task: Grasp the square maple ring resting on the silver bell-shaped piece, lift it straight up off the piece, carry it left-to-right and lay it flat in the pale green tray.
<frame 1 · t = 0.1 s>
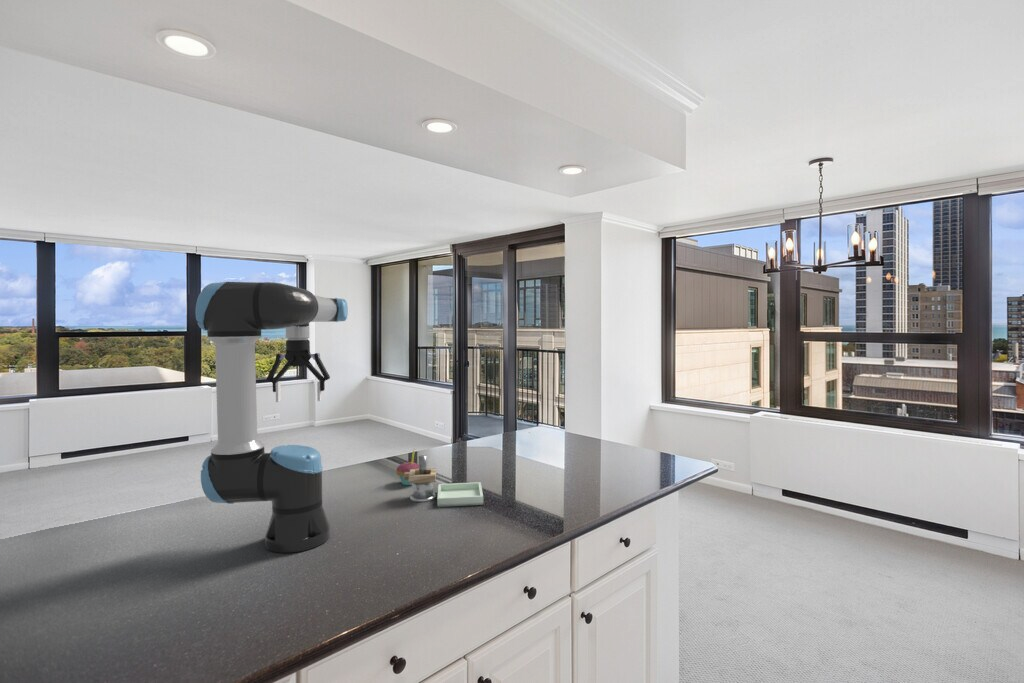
hand: (299, 401, 174), 28 cm above the worktop, fingers open, 13 cm apart
cupcake: (409, 483, 172), on the worktop
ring: (422, 478, 157), point 6 cm above the worktop, touching silver bell-shaped piece
tray: (460, 497, 157), on the worktop
silver bell-shaped piece: (423, 497, 158), on the worktop
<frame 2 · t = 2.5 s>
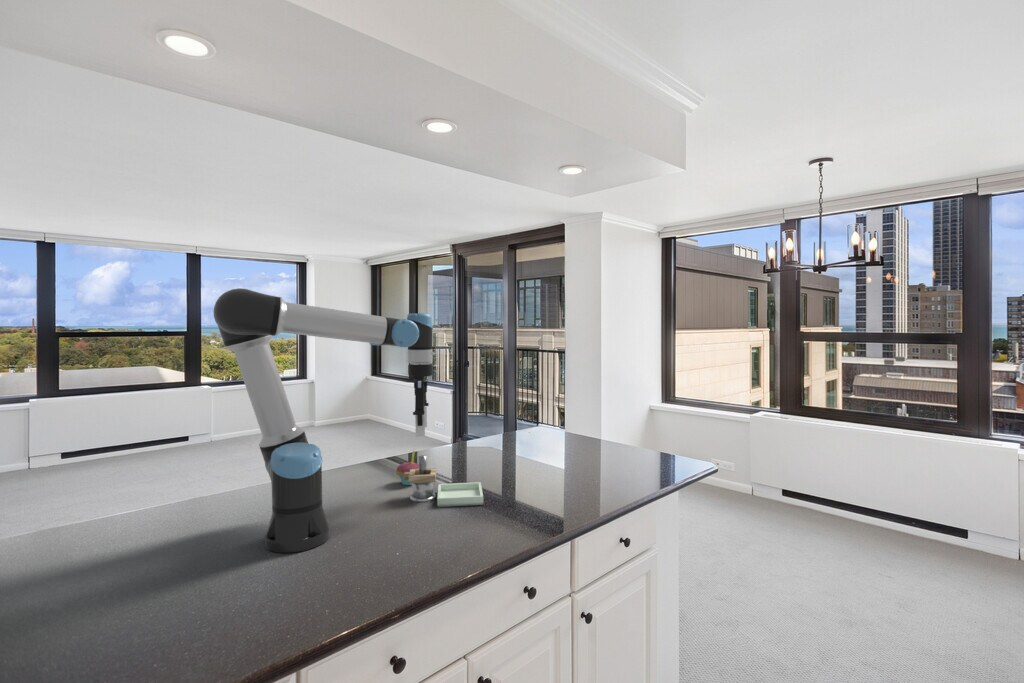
hand: (421, 431, 157), 21 cm above the worktop, fingers open, 13 cm apart
nothing on the worktop moved.
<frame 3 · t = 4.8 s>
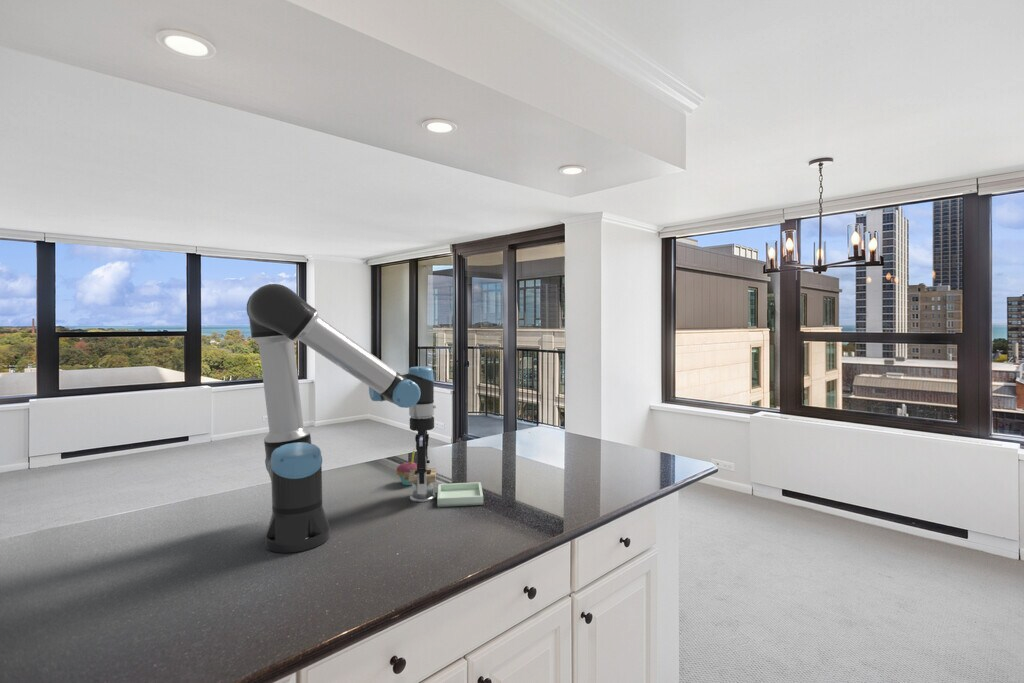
hand: (422, 488, 158), 3 cm above the worktop, fingers closed on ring, 8 cm apart
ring: (422, 478, 157), point 6 cm above the worktop, touching gripper, silver bell-shaped piece
everything else where it was.
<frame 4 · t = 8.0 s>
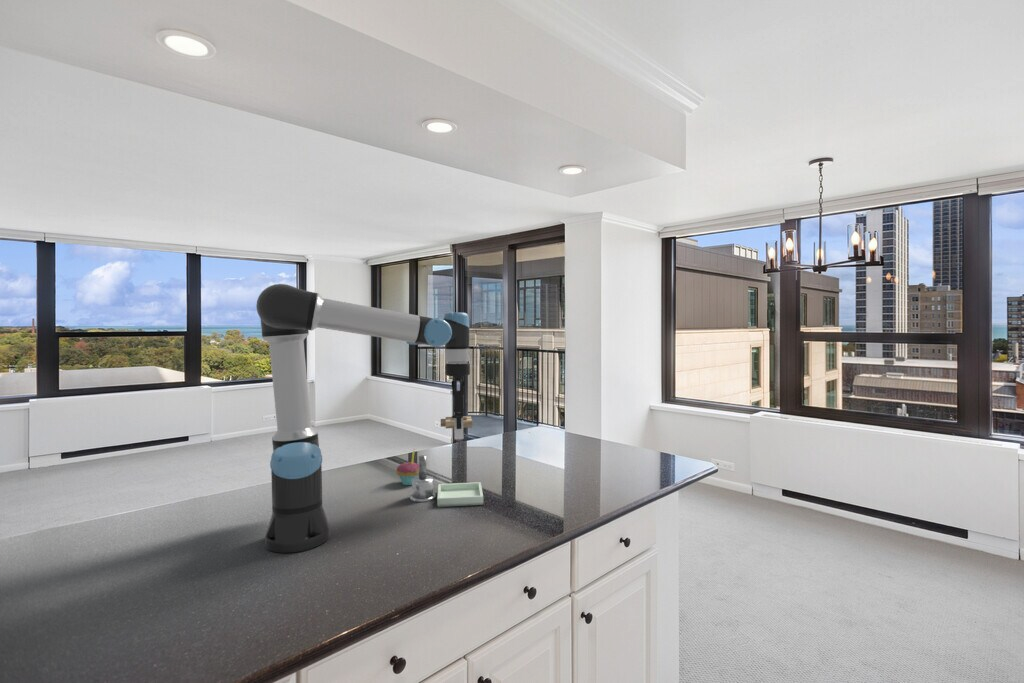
hand: (458, 435, 156), 19 cm above the worktop, fingers closed on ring, 8 cm apart
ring: (458, 425, 156), point 23 cm above the worktop, touching gripper
everything else where it was.
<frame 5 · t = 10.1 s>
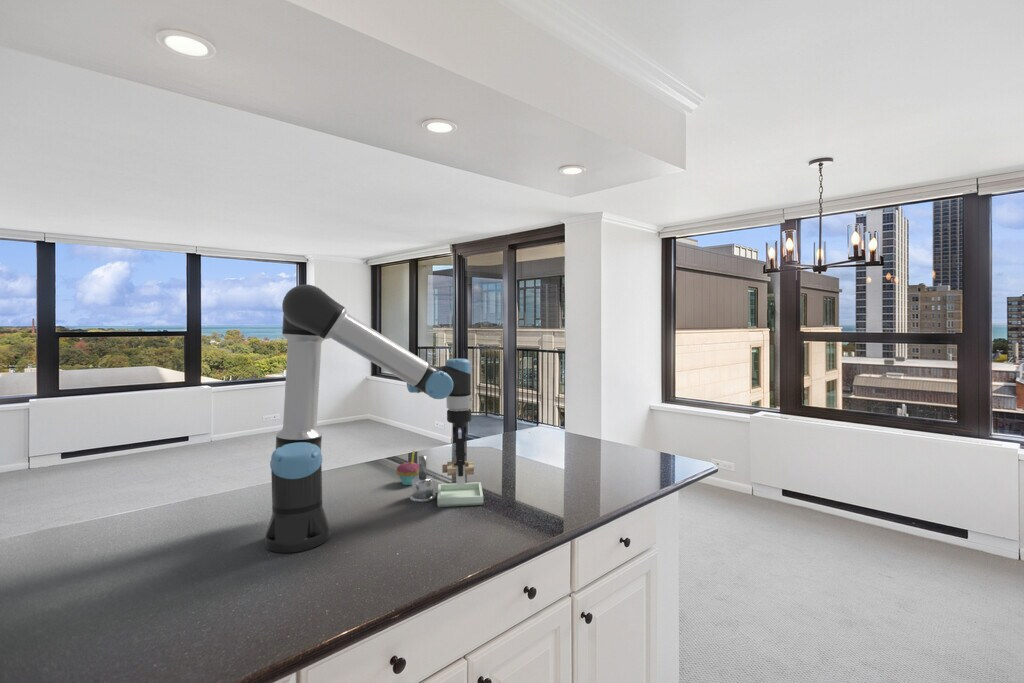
hand: (460, 481, 157), 5 cm above the worktop, fingers closed on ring, 8 cm apart
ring: (460, 471, 157), point 8 cm above the worktop, touching gripper
everything else where it was.
when the fingers open (3 cm above the worktop, at t = 11.8 s): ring stays where it is, resting on tray.
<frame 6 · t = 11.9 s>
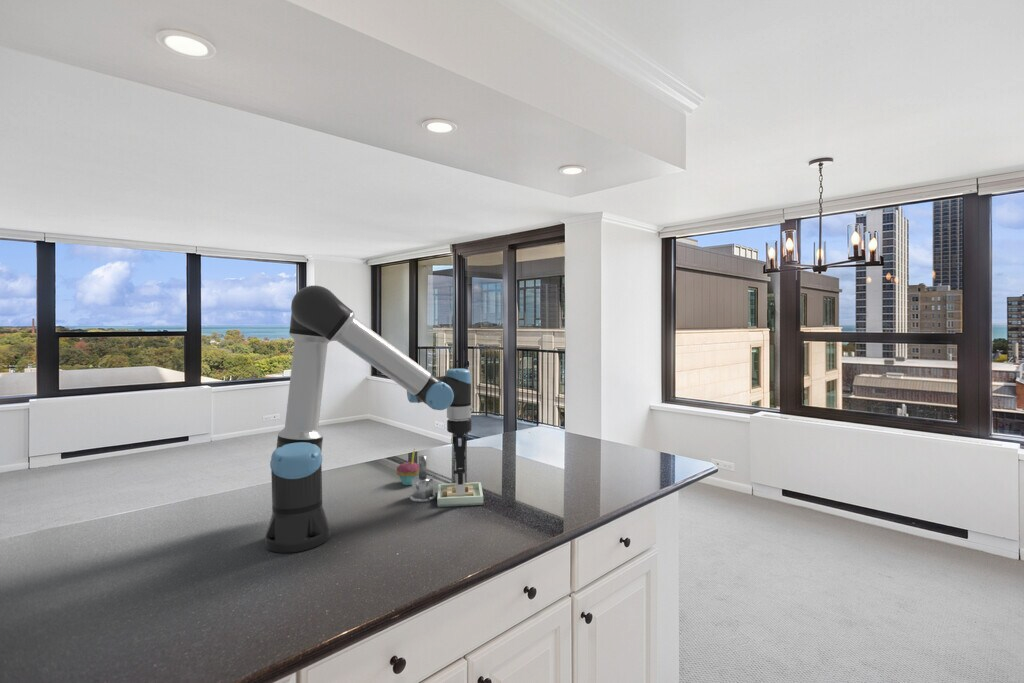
hand: (460, 487, 157), 3 cm above the worktop, fingers open, 12 cm apart
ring: (460, 496, 157), point 1 cm above the worktop, touching tray
everything else where it was.
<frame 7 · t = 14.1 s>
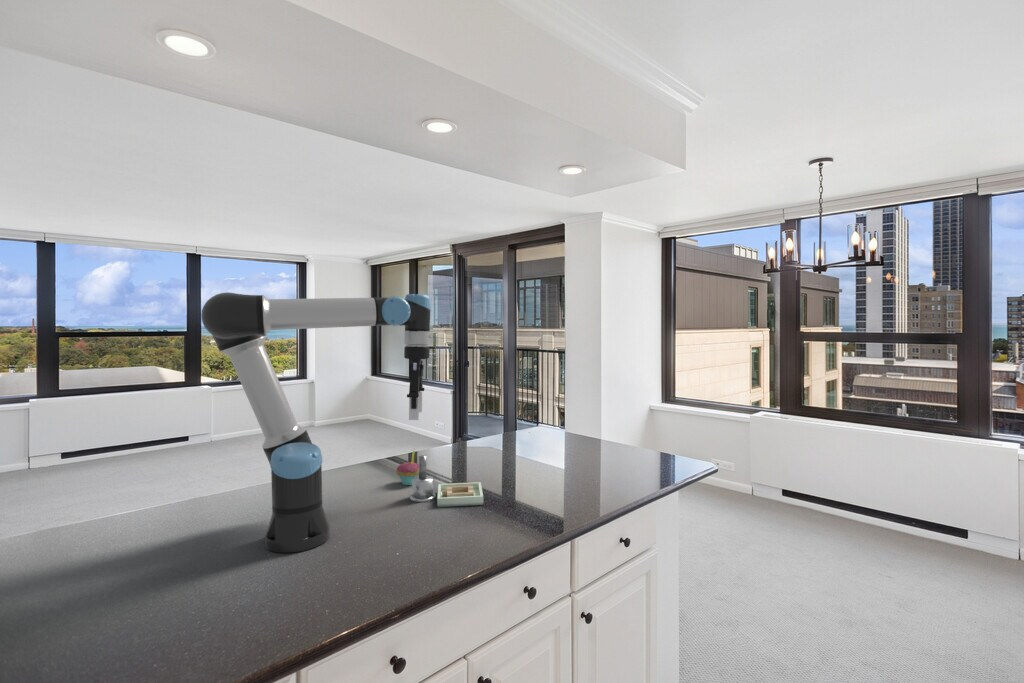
hand: (415, 415, 153), 26 cm above the worktop, fingers open, 13 cm apart
nothing on the worktop moved.
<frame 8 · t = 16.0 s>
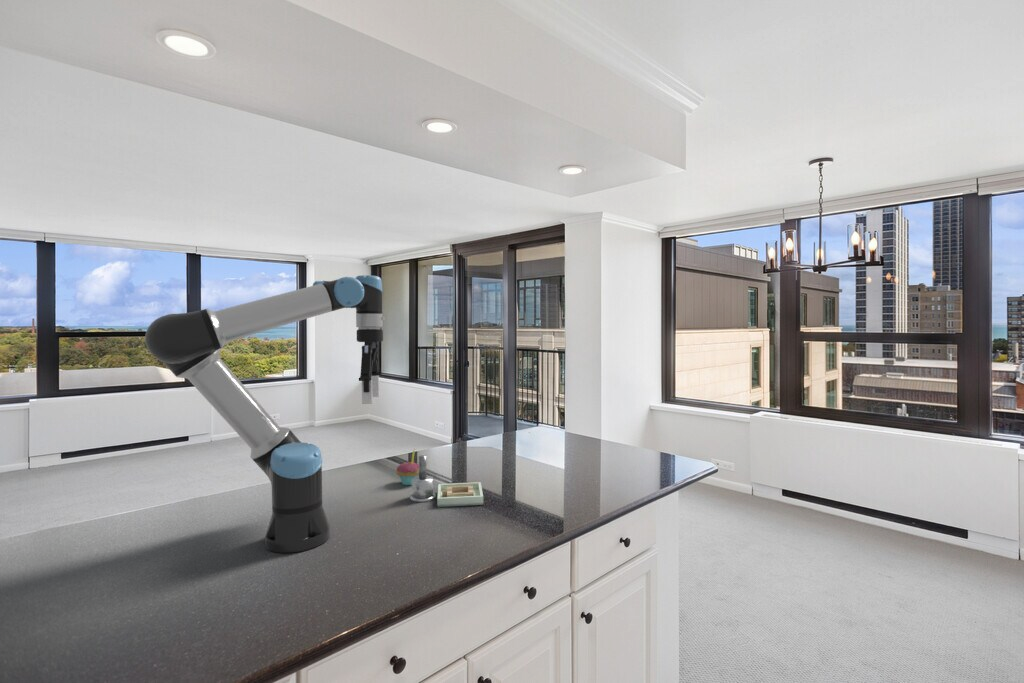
hand: (371, 400, 150), 32 cm above the worktop, fingers open, 13 cm apart
nothing on the worktop moved.
at the end: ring inside the target area on the tray (0.0 cm from its centre), point 0.6 cm above the tray's base; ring tilted 0°; the gripper is holding nothing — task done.
